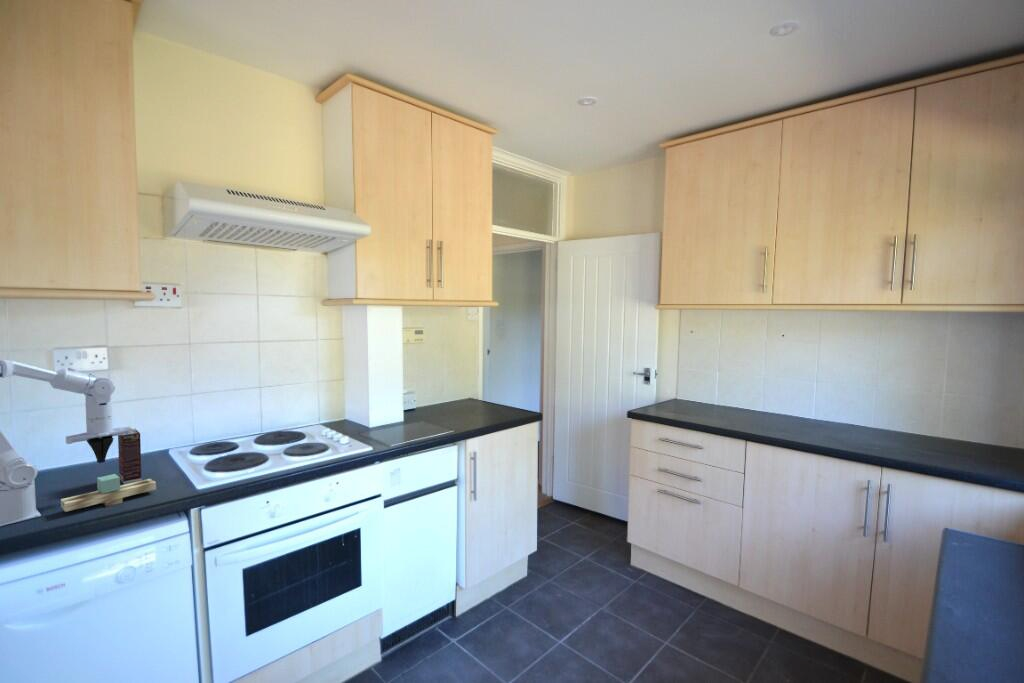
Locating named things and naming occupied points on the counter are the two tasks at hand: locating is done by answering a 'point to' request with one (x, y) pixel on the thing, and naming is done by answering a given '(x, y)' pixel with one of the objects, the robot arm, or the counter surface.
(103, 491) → the block
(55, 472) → the counter surface
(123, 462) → the supplement box
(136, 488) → the beam
